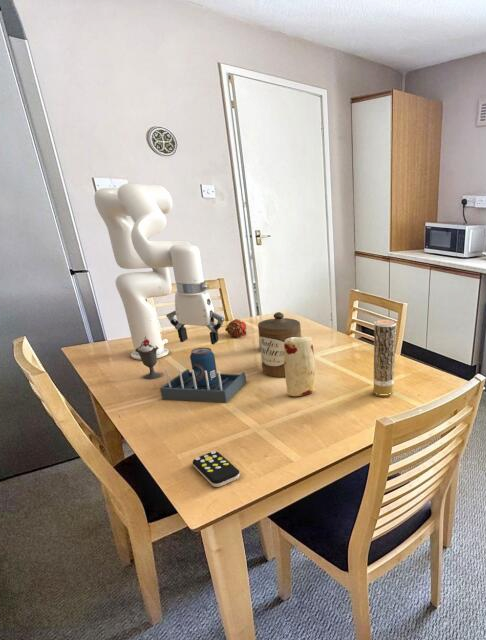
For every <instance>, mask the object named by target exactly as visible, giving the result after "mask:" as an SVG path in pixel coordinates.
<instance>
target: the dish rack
mask: <svg viewBox="0 0 486 640" xmlns="http://www.w3.org/2000/svg"><path fill="white" fill-rule="evenodd" d="M165 374H166V375H165V376H166V379H167V383H165V384H164V385H162V386H161V387H160V388H159V389H160V390H159V391H160V395H161V399H162V400H168V401H169V400H171V401H188V402H206V403H207V402H209V403H228V402H229V401H230V400H231V398H233V397H234V395H236V393H237V392H238V391H239V390H240V389H241V388H242V387H243V386H244V385H246V383H247V377H246V372H245V371H242V372H241V373H240V374H235V373H221V372H220V370H218V371H217V376H218V382H217V384H216V385H215V386H213V387H209V382H208V376H207V371H205V377H206V383H207V388H200V387H198V386H197V385H196V381H195V375H194V370H192V369H191V371H190V369H189V368H186V369H185V370H184V371H182V369H181V368H179V369H178V375H177V376H175V377H174V378H172V379H171V378H170V373H169V369H168V368H165Z"/></svg>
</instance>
